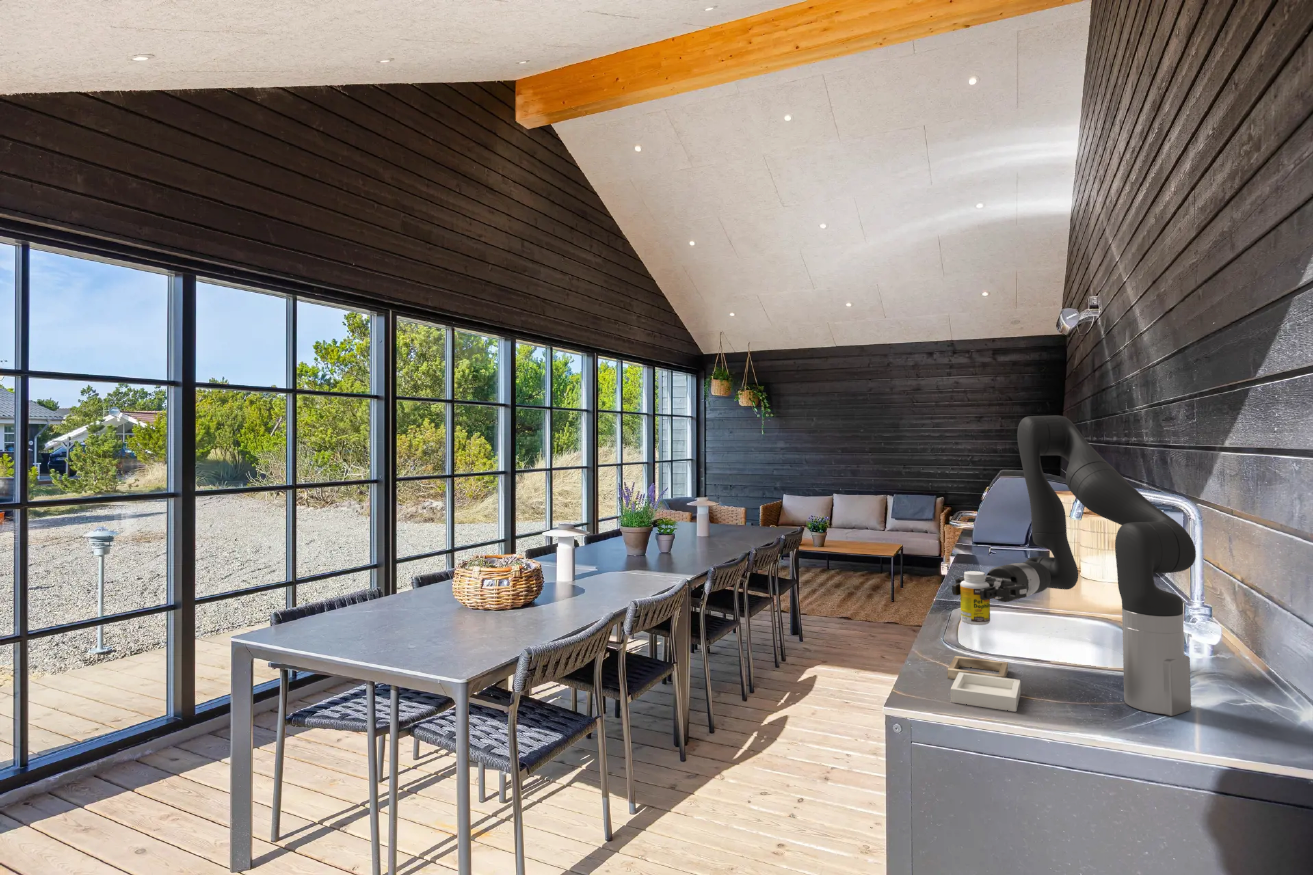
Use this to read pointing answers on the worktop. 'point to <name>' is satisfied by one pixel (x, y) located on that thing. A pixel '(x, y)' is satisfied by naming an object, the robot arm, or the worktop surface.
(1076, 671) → the worktop surface
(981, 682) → the parts tray
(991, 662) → the square wooden frame
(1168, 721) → the worktop surface
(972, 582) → the supplement bottle
